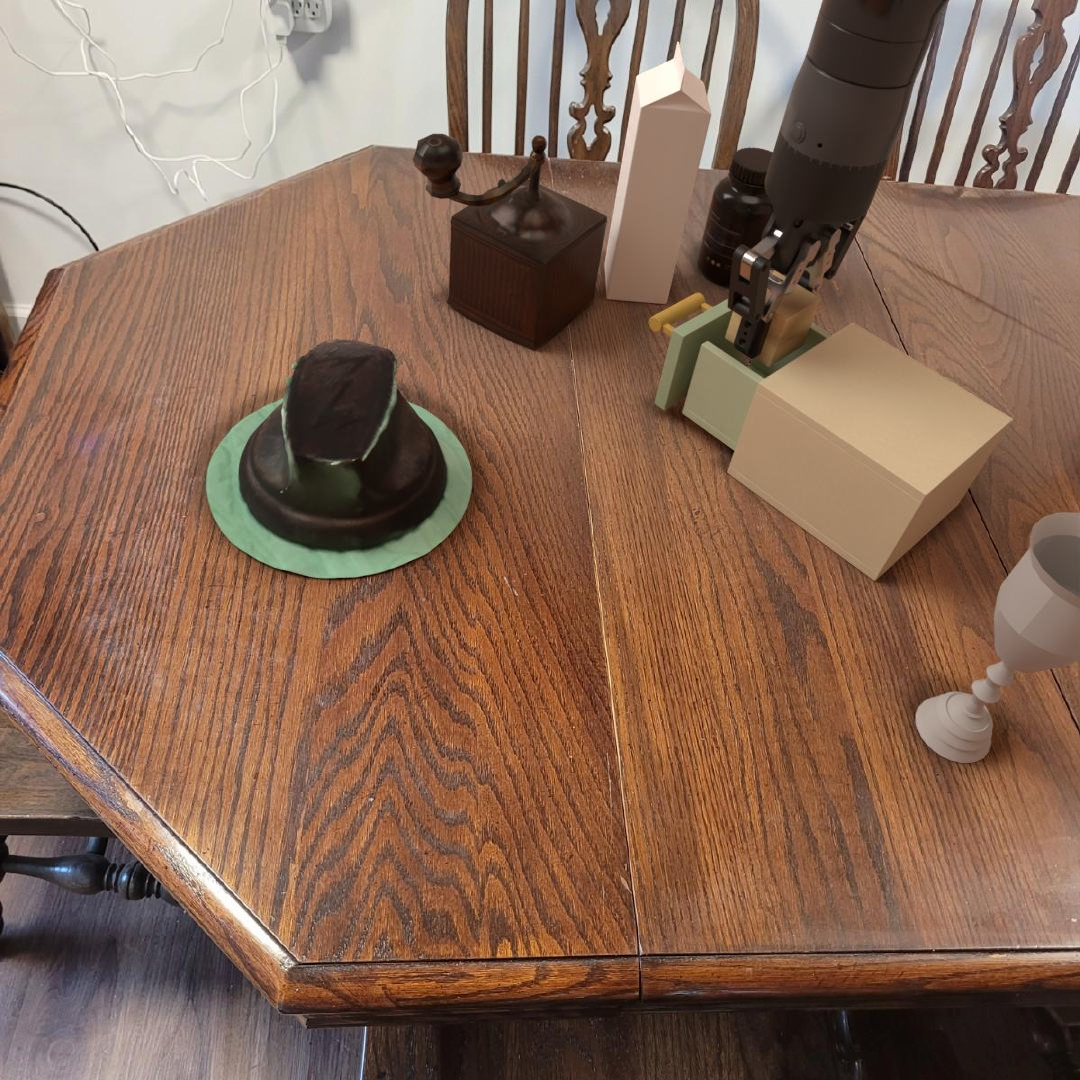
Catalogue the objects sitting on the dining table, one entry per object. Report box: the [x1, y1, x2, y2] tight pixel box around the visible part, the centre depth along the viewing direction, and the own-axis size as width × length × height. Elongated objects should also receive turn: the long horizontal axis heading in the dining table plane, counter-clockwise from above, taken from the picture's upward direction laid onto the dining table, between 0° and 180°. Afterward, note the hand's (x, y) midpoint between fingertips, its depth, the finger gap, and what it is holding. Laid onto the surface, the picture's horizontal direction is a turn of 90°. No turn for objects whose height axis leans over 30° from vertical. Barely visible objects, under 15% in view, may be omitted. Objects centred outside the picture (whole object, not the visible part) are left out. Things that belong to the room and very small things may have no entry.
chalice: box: [915, 511, 1080, 764], centre depth 56 cm, size 7×7×18 cm
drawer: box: [648, 292, 833, 451], centre depth 79 cm, size 18×11×8 cm, turn 44°
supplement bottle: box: [697, 146, 773, 288], centre depth 92 cm, size 7×7×12 cm
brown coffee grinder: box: [412, 133, 608, 350], centre depth 81 cm, size 16×11×18 cm
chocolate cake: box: [205, 338, 473, 579], centre depth 71 cm, size 15×19×20 cm
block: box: [725, 270, 822, 367], centre depth 74 cm, size 5×5×5 cm
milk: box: [603, 41, 712, 305], centre depth 85 cm, size 6×6×22 cm
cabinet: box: [727, 321, 1013, 582], centre depth 74 cm, size 15×13×10 cm
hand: (766, 339), depth 76 cm, fingers closed on block, 4 cm apart
